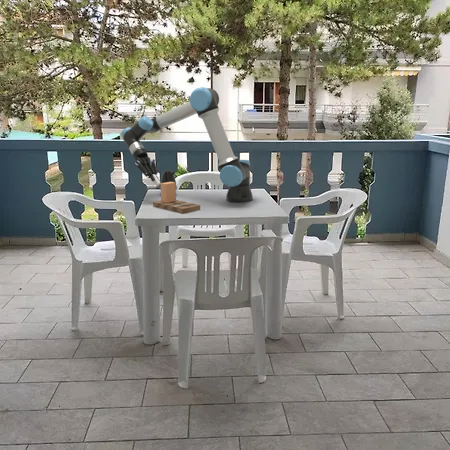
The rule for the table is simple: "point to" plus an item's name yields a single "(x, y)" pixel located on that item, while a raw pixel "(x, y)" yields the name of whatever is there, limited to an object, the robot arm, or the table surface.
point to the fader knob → (168, 192)
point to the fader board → (177, 206)
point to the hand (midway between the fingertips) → (158, 185)
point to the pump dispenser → (168, 177)
